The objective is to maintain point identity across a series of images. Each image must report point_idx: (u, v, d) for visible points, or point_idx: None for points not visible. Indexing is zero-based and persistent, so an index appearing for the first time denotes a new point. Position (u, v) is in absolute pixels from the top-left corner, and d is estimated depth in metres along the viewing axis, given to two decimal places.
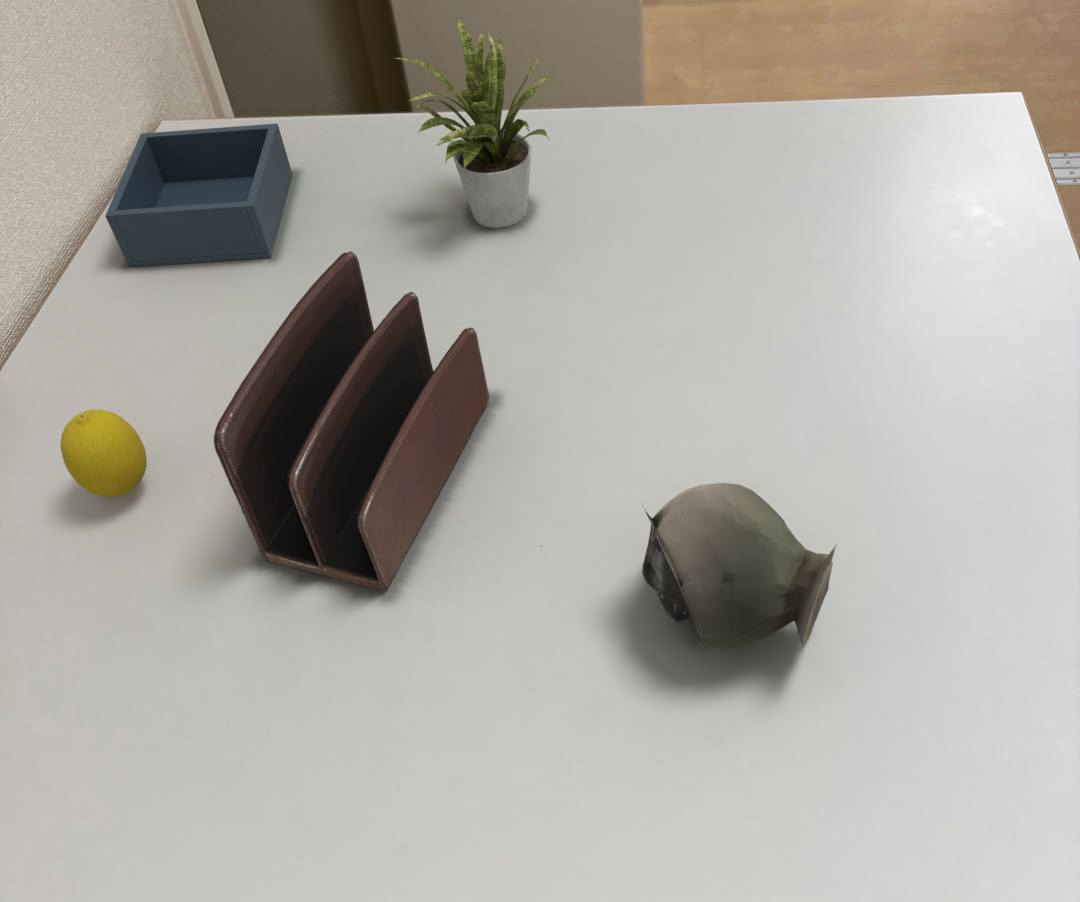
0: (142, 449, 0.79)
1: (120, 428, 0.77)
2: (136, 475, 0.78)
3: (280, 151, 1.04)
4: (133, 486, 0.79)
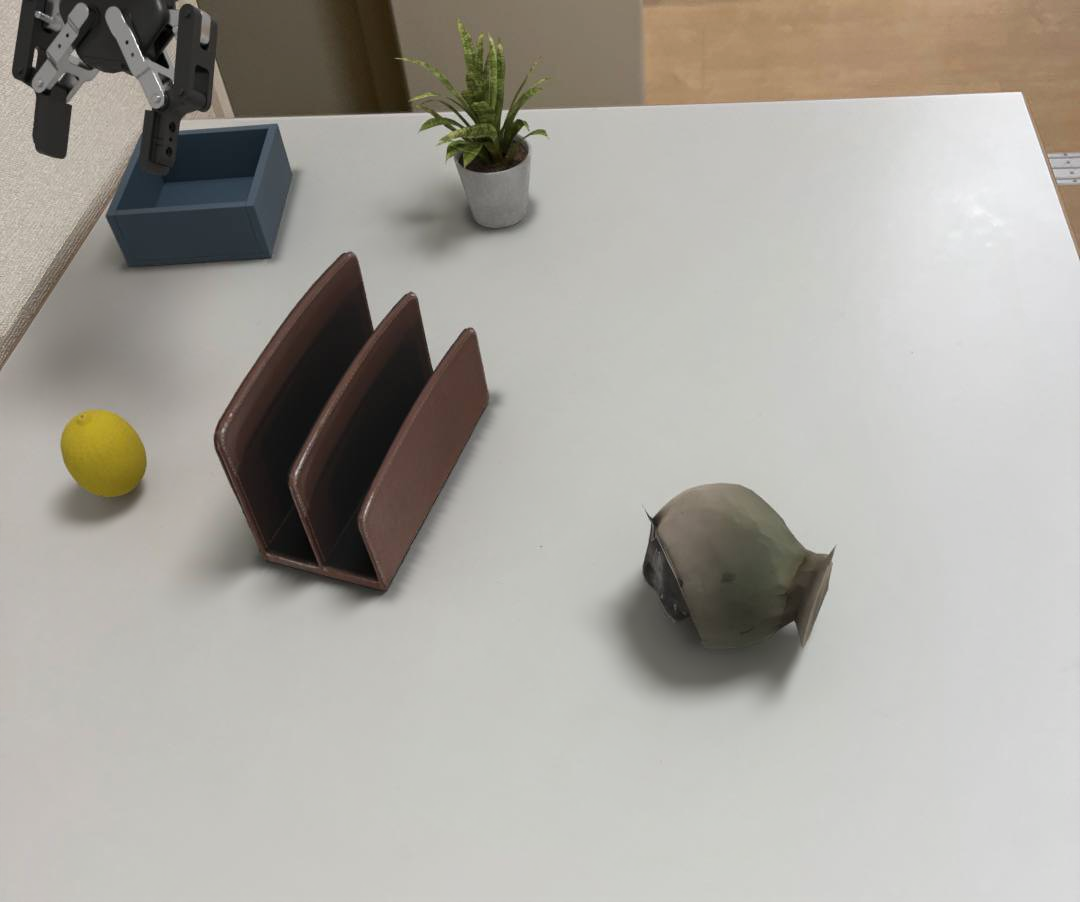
0: (142, 449, 0.79)
1: (120, 428, 0.77)
2: (136, 475, 0.78)
3: (280, 151, 1.04)
4: (133, 486, 0.79)
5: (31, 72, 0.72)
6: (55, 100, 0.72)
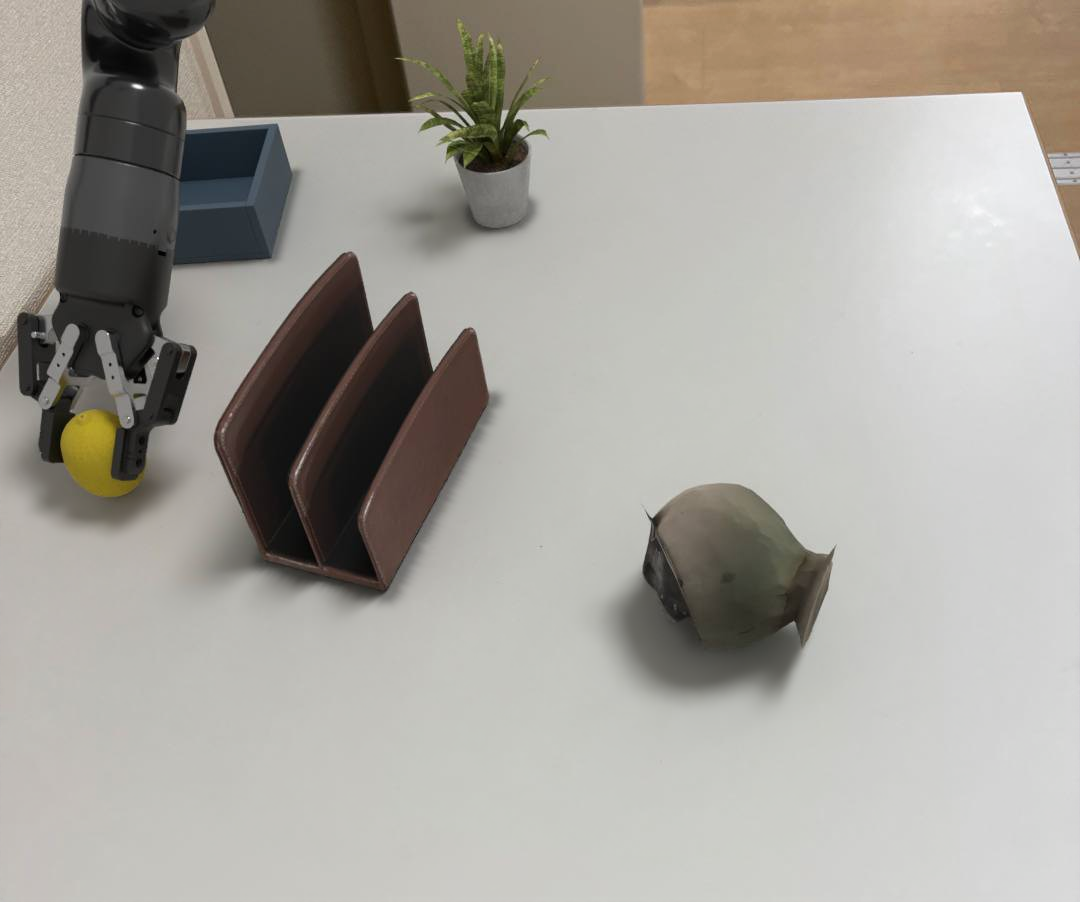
0: None
1: None
2: None
3: (280, 151, 1.04)
4: (133, 486, 0.79)
5: (37, 388, 0.77)
6: (60, 414, 0.77)
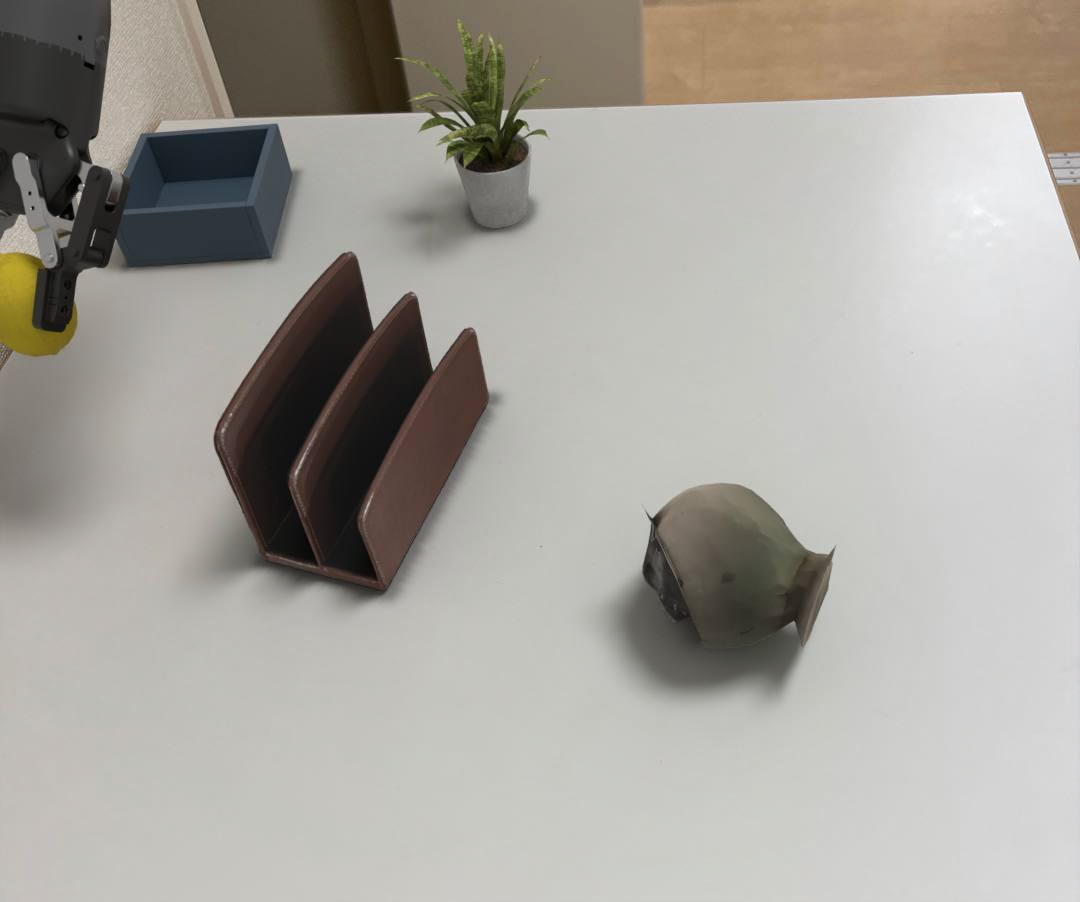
0: None
1: None
2: None
3: (280, 151, 1.04)
4: (61, 344, 0.70)
5: None
6: None
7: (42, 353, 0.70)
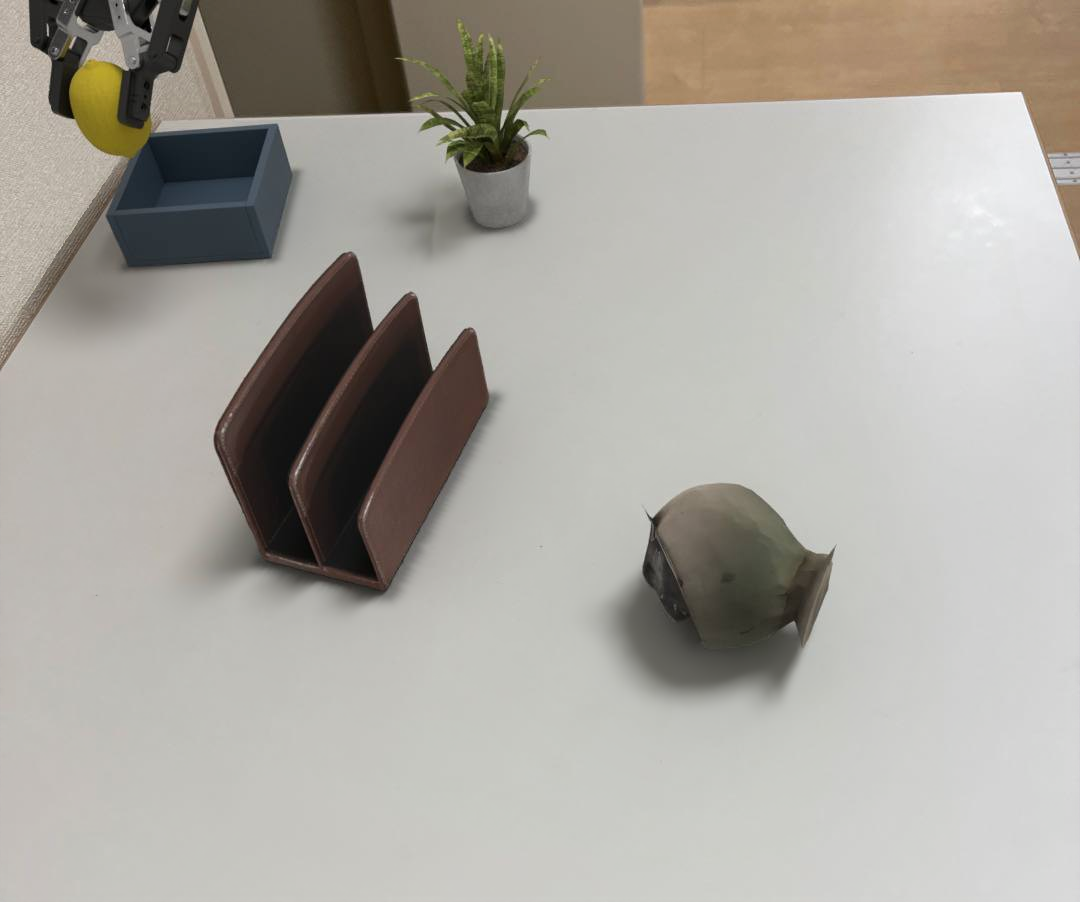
0: None
1: None
2: (141, 129, 0.82)
3: (280, 151, 1.04)
4: (138, 143, 0.83)
5: (47, 41, 0.81)
6: (69, 66, 0.81)
7: (123, 150, 0.83)
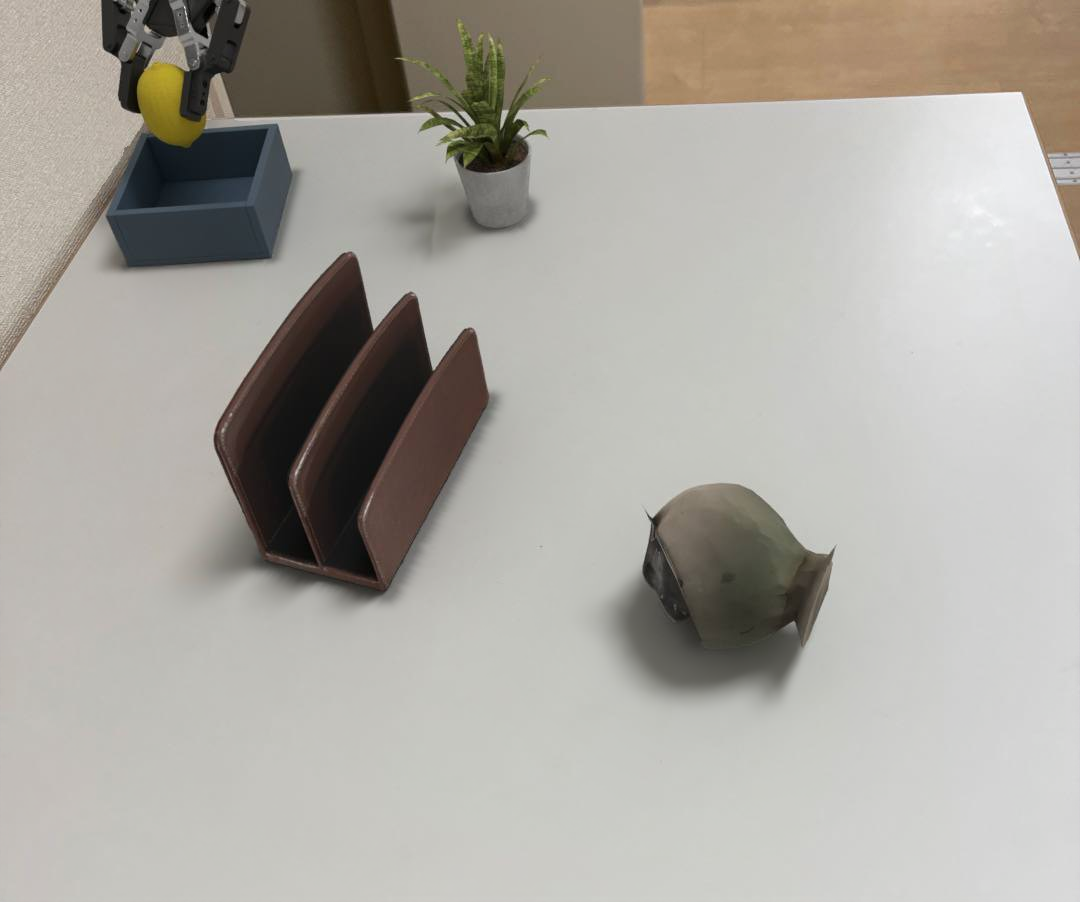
0: None
1: None
2: (198, 122, 0.94)
3: (280, 151, 1.04)
4: (195, 134, 0.95)
5: (117, 46, 0.93)
6: (136, 67, 0.93)
7: (182, 141, 0.95)
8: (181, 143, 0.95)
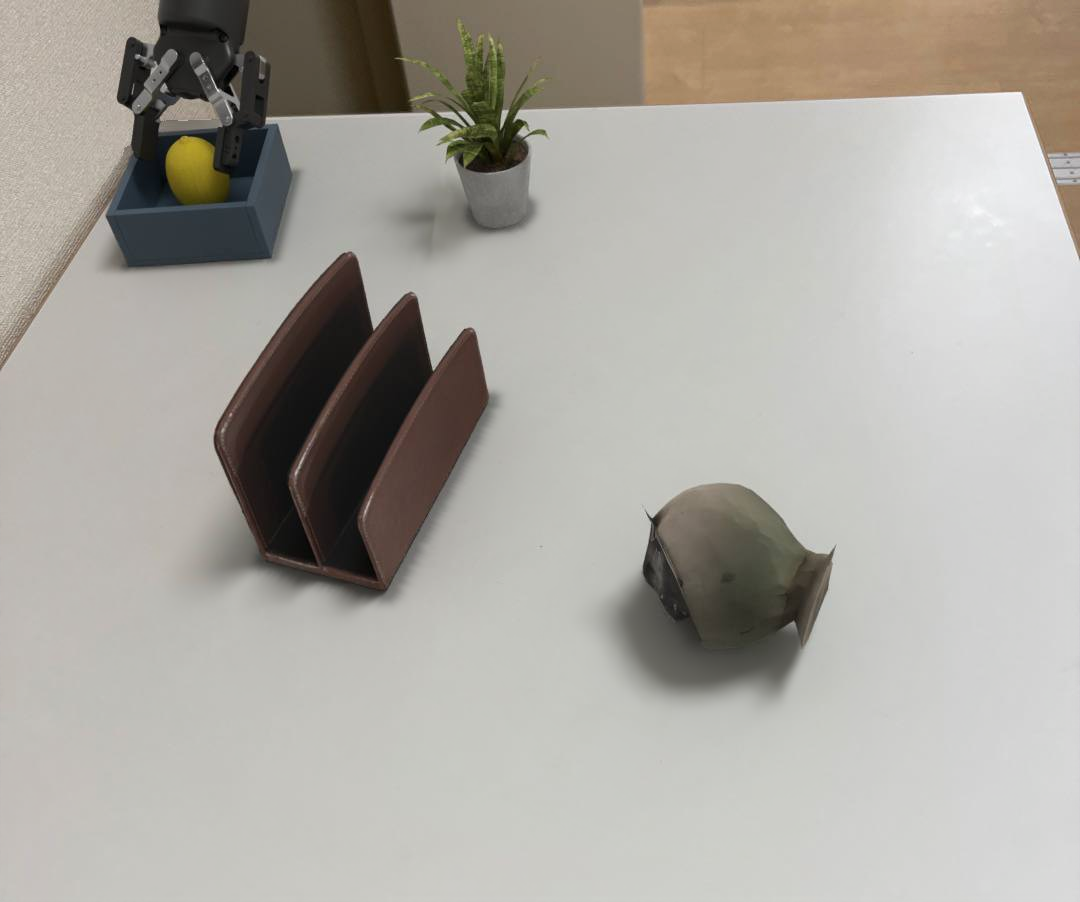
0: None
1: (212, 150, 0.98)
2: (223, 192, 1.00)
3: (280, 151, 1.04)
4: (220, 202, 1.01)
5: (130, 98, 0.98)
6: (148, 119, 0.98)
7: None
8: None
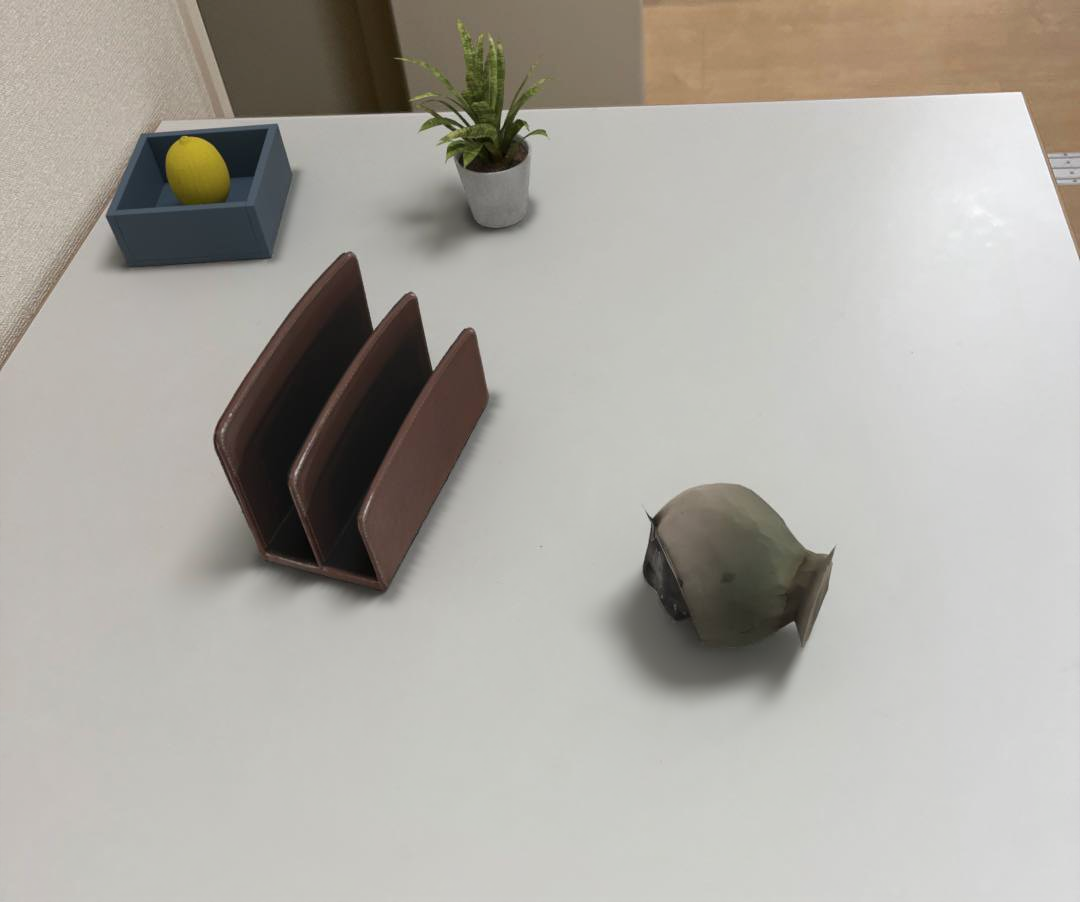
0: None
1: (212, 150, 0.98)
2: (223, 192, 1.00)
3: (280, 151, 1.04)
4: (220, 202, 1.01)
5: None
6: None
7: None
8: None
